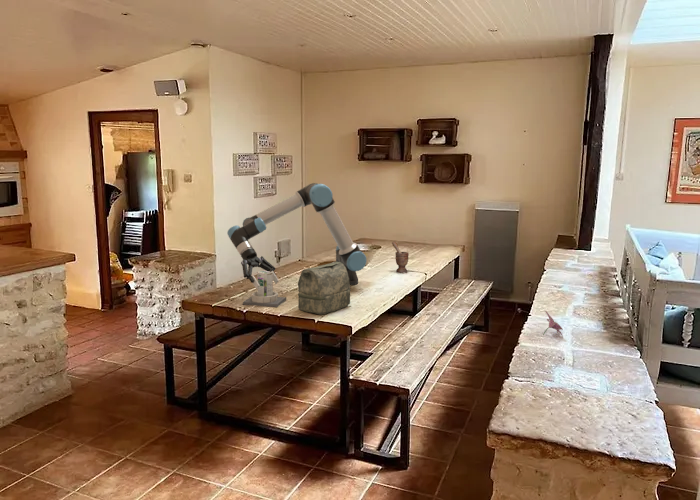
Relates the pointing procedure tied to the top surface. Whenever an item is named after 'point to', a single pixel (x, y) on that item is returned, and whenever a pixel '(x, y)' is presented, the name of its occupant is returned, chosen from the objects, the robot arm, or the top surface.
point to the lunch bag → (324, 288)
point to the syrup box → (265, 283)
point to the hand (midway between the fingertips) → (267, 284)
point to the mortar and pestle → (401, 259)
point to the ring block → (265, 300)
